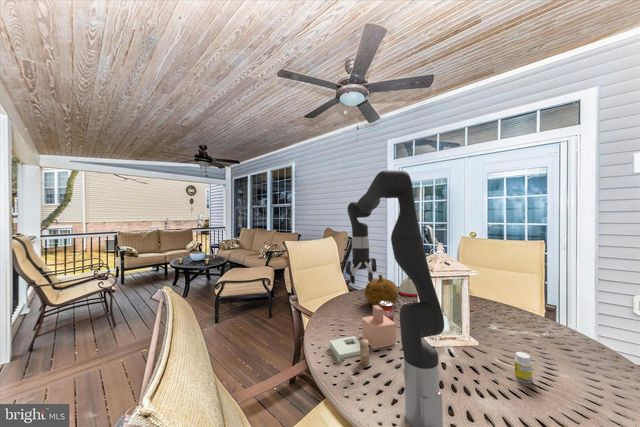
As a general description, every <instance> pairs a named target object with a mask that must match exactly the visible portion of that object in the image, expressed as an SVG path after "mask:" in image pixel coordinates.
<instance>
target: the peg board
mask: <svg viewBox="0 0 640 427" xmlns="http://www.w3.org/2000/svg"><path fill="white" fill-rule="evenodd" d="M349 343H353V344H349ZM329 348H330V350H331V352H332V354H334V356H335V358H336V359H337V360H338V362H339V363H344V362H346V360H345V359H346V358H349V357H351V358H352V357H354V356H355V357H356V356H360V339H358V338H357V337H356V336H355V335H353V336H348V337H343V338H336V339H332V340H329Z"/></svg>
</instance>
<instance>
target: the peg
mask: <svg viewBox="0 0 640 427" xmlns="http://www.w3.org/2000/svg"><path fill="white" fill-rule="evenodd" d="M359 341H360V355H359V357H360V358H359V359H360V364H361V365H362V366H368V365H369V364H370V352H369V351H370V350H369V344H368V340H367V339H363V338H361V339H359Z"/></svg>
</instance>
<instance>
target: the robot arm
mask: <svg viewBox="0 0 640 427" xmlns="http://www.w3.org/2000/svg"><path fill="white" fill-rule="evenodd" d="M381 199H397V200H398V206H399V213H398V216H397V219H396V222H395V224H394V226H393V228H392V229H393V230H392V232H391V235H390V242H391V246H392V251H393V252H392V253H393V257H394V259H395V261H396V263H397V265H398V266H399V267H400V269H401V270H402V271H403V273H405V275H406V277H409V278H410V279H411V281H412V282H413V284H414V285H415V288H416V290H417V293H418V296H417V297H418V299H419V300H418V301H416V302H409V303H408V302H407V303H405V304H402V306H401V307H400V309H399V325H400V336H401V339H400V340H401V347H402V351H403V374H404V375H403V376H404V404H405V405H404V406H405V407H404V408H405V419H406V422H407V423H408V424H409V425H410V426H411V427H444V424H443V420H444V419H443V395H442V393H441V392H440V372H439V370H440V369H439V368H440V367H439V353H438V351H437V349H436V348H435V347H434V346H432V345H430V344H428V343H425V342H422V339H423V338H429V337H434V336H439V335H441V334H442V333H443V332H444V330H445V319H444V314H443V310H442V307H441V304H440V301H439V298H438V294H437V292H436V289H435V286H434V282H433V280H432V277H431V275H432V274H431V273H430V268H429V263H428V259H427V255H426V250H425V246H424V245H425V244H424V241H423V237H422V233H421V229H420V225H419V220H418V217H417V216H418V215H417V210H416V204H415V196H414V190H413V183H412V178H411V176H410V174H409V173H408V172H407V171H406V170H400V169H399V170H398V169H396V170H392V169H391V170H382V171H380V172H378V173H377V174H376V176H375V177H374V179H373V181H372V182H371V184H370V185H369V187H368V189H367V191H366V192H365V194H363V195H362V196H361V197H360V198H359V199H358V201H353V202H349V204H348V205H347V213H348V214H347V215H348V217H349V220H350V224H351V233H352V236H351V250H352V251H351V254H352V255H351V256H352V259H351V260H348V259H347V260H345V274H346V275H348V276H349V282H350V283H351V284H352V285H355V284H356V283H355V282H356V278H355V274H356V273H357V272H358V270H366V271H367V281H368V283H369V282H372V280H373V279H374V278H373V277H374V273H376V272H377V270H378V268H377V259H376V258H373V257H371V258H370V240H369V225H368V223H365V222H361V221H359V220H358V219H359V218H361V219H362V218H369V217H371V215H372V212H373V211H374V210H375V209H376V208H377V207H378V206H379V205H380V203H381ZM369 264H371V266H370V265H369ZM351 266H352V267H351Z"/></svg>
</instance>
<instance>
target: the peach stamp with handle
mask: <svg viewBox="0 0 640 427" xmlns="http://www.w3.org/2000/svg"><path fill="white" fill-rule="evenodd" d="M396 326H397V324H396V323H395V321H394V322H393V321H391V320H390V319H389V318H387V317H386V316H384V315H383V309H382V308H381V307H379V306H378V305H375V306H372V315H370V316H364V317H363V316H362V317H361V336H363V337H364V338H365V339H367V340H368V343H369V344H370V345H371V346H372V347H373V348H375V347H379V348H381V347H380V346H384V347H386V346H385V345H389V346H391V345H390V344H394V345H396V344H395V343H396V342H397V327H396ZM369 344H368V345H369ZM370 345H369V346H370ZM371 346H370V347H371ZM372 347H371V348H372ZM373 348H372V349H373ZM375 349H376V348H375Z"/></svg>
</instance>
